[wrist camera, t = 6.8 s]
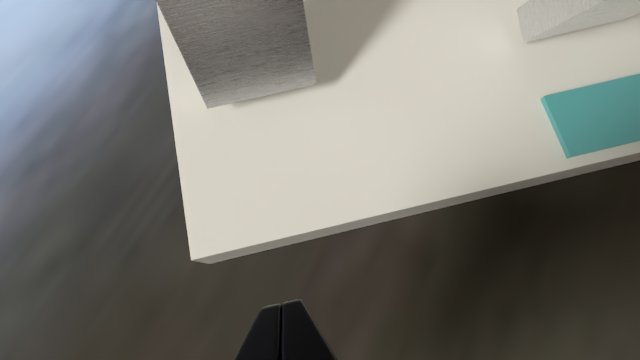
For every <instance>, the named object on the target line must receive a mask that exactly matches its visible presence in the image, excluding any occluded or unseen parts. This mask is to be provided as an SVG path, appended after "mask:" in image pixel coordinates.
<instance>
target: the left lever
mask: <svg viewBox="0 0 640 360" xmlns="http://www.w3.org/2000/svg"><path fill="white" fill-rule="evenodd" d="M156 2H157V4H158V6H159V8H160V10H161V12H162V14H163V16H164V19H165V21H166V23H167V25H168V27H169V29H170V31H171V33H172V35H173V37H174V40H175V42H176V44H177V46H178V48H179V50H180V52H181V54H182V56H183V58H184V61H185V63H186V65H187V67H188V69H189V71H190V73H191V75H192V77H193V79H194V82H195V84H196V86H197V88H198V90H199V92H200V94H201V96H202V98H203V100H204V103H205V105H206V107H207V109H209V108H214V107H218V106H222V105H227V104H231V103H235V102H240V101H244V100H248V99H253V98H257V97H261V96H266V95H270V94H274V93H279V92H283V91H287V90H292V89H296V88H301V87H305V86H309V85H314V84H316V78H315V72H314V66H313V60H312V53H311V47H310V41H309V35H308V29H307V22H306V16H305V10H304V4H303V0H156Z"/></svg>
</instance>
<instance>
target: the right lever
mask: <svg viewBox="0 0 640 360" xmlns="http://www.w3.org/2000/svg"><path fill="white" fill-rule="evenodd" d="M639 13H640V0H529V1H527V2H526V3H524V4H523V5H522V6H520V7H519V8H517V14H518V19H519V24H520V29H521V35H522V40H523V43H525V42H530V41H534V40H538V39H543V38H547V37H551V36H556V35H560V34H564V33H569V32H573V31H577V30H582V29H586V28H590V27H595V26H599V25H603V24H608V23H612V22H616V21H621V20H625V19H627V18H629V17H632V16H634V15H636V14H639Z"/></svg>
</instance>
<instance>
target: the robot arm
mask: <svg viewBox="0 0 640 360" xmlns="http://www.w3.org/2000/svg"><path fill="white" fill-rule="evenodd" d="M235 360H337V358H336V356H335V355H334V353H333V351H332V350H331V348H330V346H329V345H328V343H327V341H326V340H325V338H324V336H323V335H322V333H321V331H320V330H319V328H318V326H317V325H316V323H315V321H314V320H313V318H312V316H311V315H310V313H309V311H308V310H307V308H306V306H305V305H304V303H303V301H302V300H301V299H297V300H292V301H288V302H284V303H283V304H282V305H281V304H274V305H270V306H266V307H263V308H262V309H261V310H260V312H259V314H258V316H257V318H256V320H255V322H254V324H253V326H252V328H251V330H250V332H249V334H248V335H247V337H246V339H245V341H244V343H243V345H242V347H241V349H240V351H239V353H238V355H237V357H236V359H235Z"/></svg>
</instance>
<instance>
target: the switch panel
mask: <svg viewBox="0 0 640 360" xmlns="http://www.w3.org/2000/svg"><path fill="white" fill-rule="evenodd" d="M527 1H529V0H303V4H304V10H305V16H306V22H307V29H308V35H309V41H310V47H311V53H312V60H313V66H314V72H315V78H316V84H314V85H309V86H305V87H301V88H296V89H292V90H287V91H283V92H279V93H274V94H270V95H266V96H261V97H257V98H253V99H248V100H244V101H240V102H235V103H231V104H227V105H222V106H218V107H214V108H209V109H207V107H206V105H205V103H204V100H203V98H202V96H201V94H200V92H199V90H198V88H197V86H196V84H195V82H194V79H193V77H192V75H191V73H190V71H189V69H188V67H187V65H186V63H185V61H184V58H183V56H182V54H181V52H180V50H179V48H178V46H177V44H176V42H175V40H174V37H173V35H172V33H171V31H170V29H169V27H168V25H167V23H166V21H165V19H164V16H163V14H162V12H161V10H160V8H159V6H158V4H157V9H158V16H159V24H160V31H161V39H162V46H163V54H164V61H165V69H166V76H167V84H168V91H169V98H170V106H171V113H172V121H173V128H174V136H175V143H176V151H177V158H178V166H179V173H180V181H181V188H182V196H183V203H184V211H185V218H186V226H187V233H188V241H189V248H190V256H191V260H193V261H198V262H203V263H208V264H211V263H215V262H220V261H224V260H228V259H232V258H236V257H240V256H244V255H249V254H253V253H257V252H261V251H265V250H269V249H274V248H278V247H282V246H286V245H290V244H294V243H298V242H303V241H307V240H311V239H315V238H319V237H323V236H328V235H332V234H336V233H340V232H344V231H348V230H352V229H357V228H361V227H365V226H369V225H373V224H377V223H382V222H386V221H390V220H394V219H398V218H402V217H406V216H411V215H415V214H419V213H423V212H427V211H431V210H436V209H440V208H444V207H448V206H452V205H456V204H460V203H465V202H469V201H473V200H477V199H481V198H485V197H490V196H494V195H498V194H502V193H506V192H510V191H514V190H519V189H523V188H527V187H531V186H535V185H539V184H544V183H548V182H552V181H556V180H560V179H564V178H568V177H573V176H577V175H581V174H585V173H589V172H593V171H598V170H602V169H606V168H610V167H614V166H618V165H622V164H627V163H631V162H635V161H639V160H640V13H639V14H636V15H634V16H632V17H629V18H627V19H625V20H621V21H616V22H612V23H608V24H603V25H599V26H595V27H590V28H586V29H582V30H577V31H573V32H569V33H564V34H560V35H556V36H551V37H547V38H543V39H538V40H534V41H530V42H525V43H523V40H522V35H521V29H520V24H519V19H518V14H517V8H519V7H520V6H522V5H523V4H524V3H526V2H527Z"/></svg>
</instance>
